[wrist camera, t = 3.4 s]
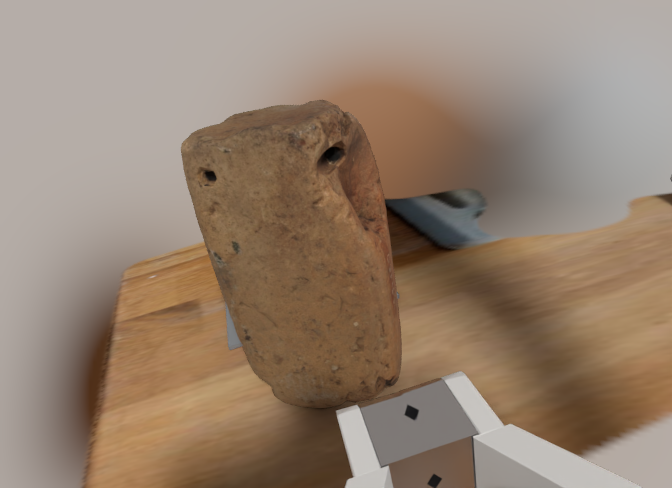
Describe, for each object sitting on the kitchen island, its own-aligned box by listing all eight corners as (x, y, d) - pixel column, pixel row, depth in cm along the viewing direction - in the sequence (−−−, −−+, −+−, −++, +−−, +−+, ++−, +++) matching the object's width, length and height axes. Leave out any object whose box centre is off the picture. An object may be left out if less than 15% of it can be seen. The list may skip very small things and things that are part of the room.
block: (253, 407, 30) (149, 142, 19) (284, 334, 36) (217, 104, 26) (402, 420, 27) (371, 121, 17) (408, 339, 33) (388, 84, 23)
